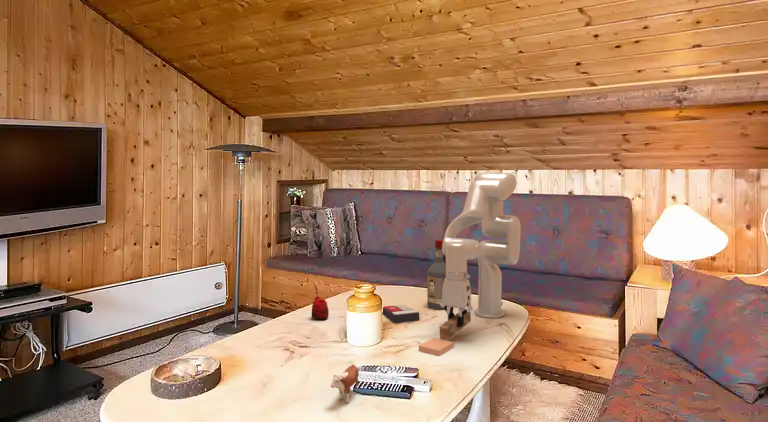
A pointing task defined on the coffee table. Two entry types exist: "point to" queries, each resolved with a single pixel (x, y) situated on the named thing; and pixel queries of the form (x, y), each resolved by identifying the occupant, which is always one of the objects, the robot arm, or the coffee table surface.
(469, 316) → the stick
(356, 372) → the bull figurine
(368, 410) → the coffee table surface
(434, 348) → the tile
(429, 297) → the liquor
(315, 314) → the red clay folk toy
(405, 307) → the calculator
